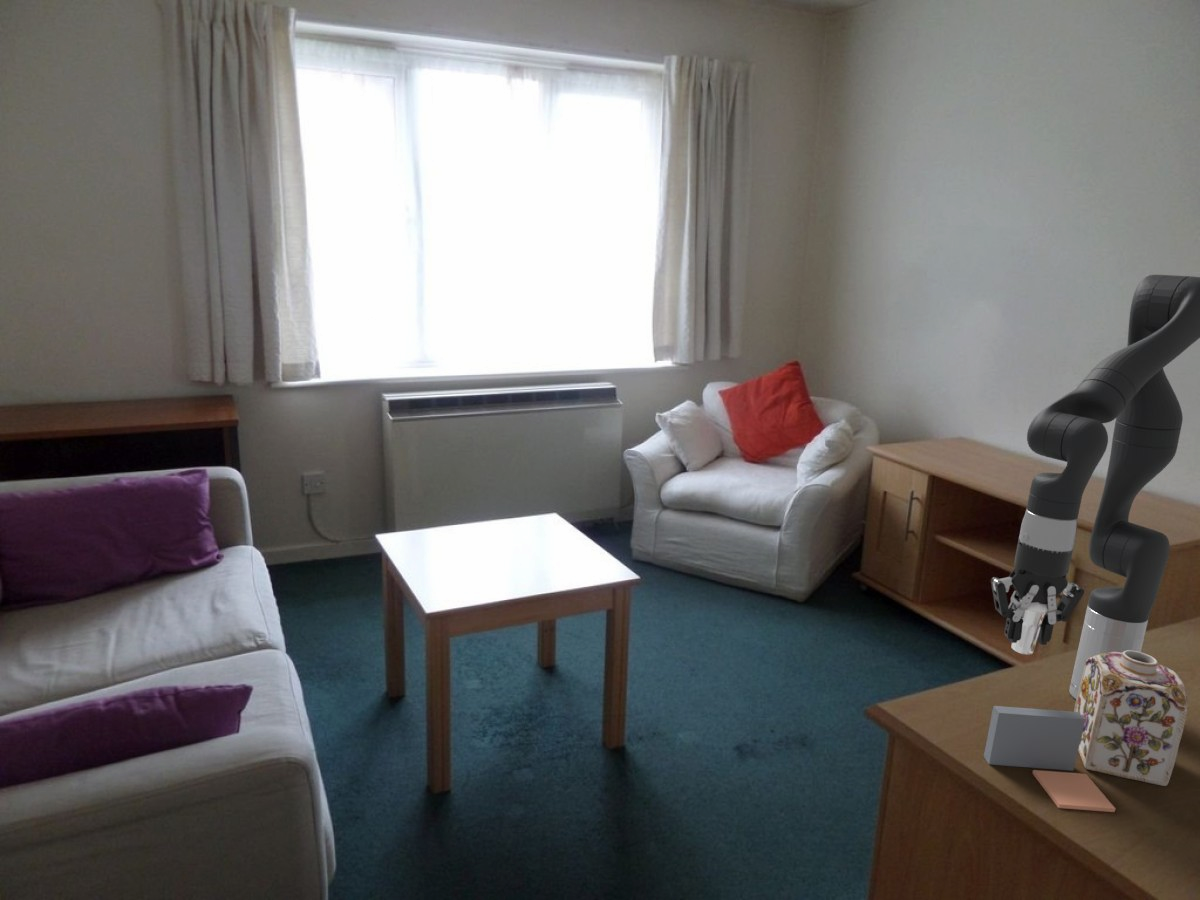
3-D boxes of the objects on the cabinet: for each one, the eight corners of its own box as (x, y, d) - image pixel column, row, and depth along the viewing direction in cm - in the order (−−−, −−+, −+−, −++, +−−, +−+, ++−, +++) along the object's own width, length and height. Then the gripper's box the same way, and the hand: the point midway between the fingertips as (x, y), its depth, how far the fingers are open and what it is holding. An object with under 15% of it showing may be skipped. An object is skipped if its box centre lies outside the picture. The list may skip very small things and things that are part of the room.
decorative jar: (1082, 770, 128) (1106, 665, 124) (1067, 730, 139) (1089, 633, 134) (1171, 789, 124) (1199, 682, 120) (1148, 747, 135) (1173, 647, 131)
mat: (1085, 777, 126) (1086, 773, 126) (1114, 812, 118) (1115, 808, 118) (1032, 773, 126) (1033, 769, 126) (1058, 807, 119) (1059, 804, 118)
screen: (1067, 762, 129) (1078, 712, 127) (1073, 770, 128) (1085, 719, 125) (983, 756, 130) (993, 705, 128) (988, 764, 128) (998, 712, 126)
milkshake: (1046, 659, 130) (1060, 602, 127) (1010, 654, 131) (1023, 596, 128) (1038, 646, 134) (1051, 590, 131) (1003, 640, 135) (1015, 585, 132)
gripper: (1080, 535, 131) (1059, 634, 135) (989, 529, 131) (971, 627, 136) (1106, 553, 124) (1083, 656, 128) (1009, 546, 124) (990, 649, 128)
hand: (1025, 641), depth 132 cm, fingers closed on milkshake, 4 cm apart
